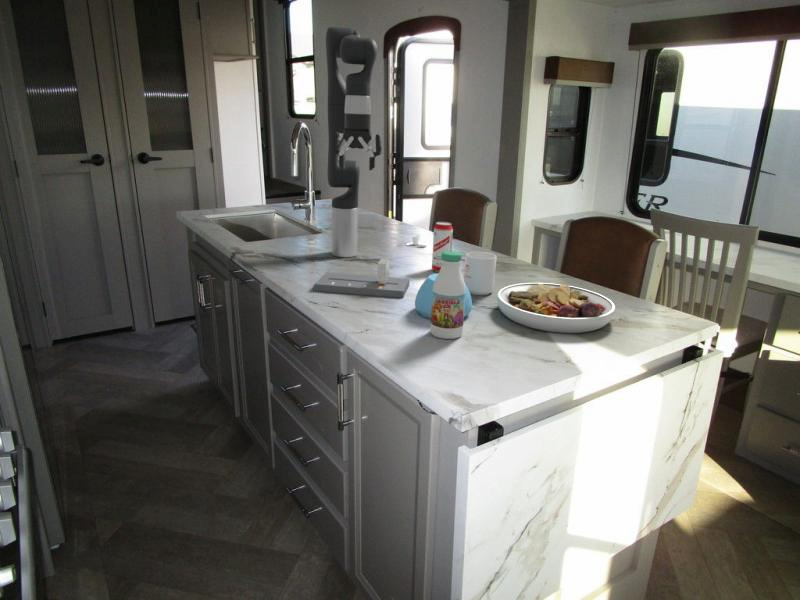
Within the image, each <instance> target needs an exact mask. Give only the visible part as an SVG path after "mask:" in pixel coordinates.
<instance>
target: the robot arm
mask: <svg viewBox="0 0 800 600" xmlns="http://www.w3.org/2000/svg"><path fill="white" fill-rule="evenodd" d="M378 49H379V48H378V45H377V42H376V41H375V40H374V39H373V38H370V37H361V34H360V33H359V31H358V30H357V29H355V28H353V27H337V26H336V27H335V26H329V27H328V28H327V30H326V35H325V51H326V54H325V55H326V67H327V126H328V127H327V129H328V131H327V132H328V149H327V150H328V151H327V183H328V186H329V187H330V188H334V189H335V188H337V189H339V188H347V191H346V192H344V193H343V194H341V195H339V196H335V197H333V198H332V200H331V255H333V256H334V257H339V258H353V257H356V256H357V255H358V242H359V241H358V240H359V239H358V236H359V234H358V233H359V231H358V229H359V224H358V223H359V189H360V188H359V186H360V175H361V174H360V173H361V172H360V166H359V163H358V161H357V160H346V155H345V154H346V153H347V151H348V150H349V149H360V150H362V149H364V150H365V151H366V152H367V153H368V155H369V162H368V164H369V165H368V170H369V171H373V169H375V167H376V158H377V157H378V156H380V155H382V153H383V152H382V134H380V133H378V134H372V132H371V123H372V122H371V121H372V119H371V118H372V116H371V113H372V111H371V110H372V104H371V103H372V102H371V84H372V83H371V82H372V81H371V80H372V74H373V70H374V66H375V63H376V61H377V55H378ZM337 59H341V61H342V63H344V64H348V65H363V69H362V70H361V71H359V72H354V73H353V72H352V73H349V74H347V75H346V77H345V80H344V78H343V75H342V73H341V71H340V68H339V64H338V61H337ZM371 140H373V142H374V143H375V151H374V149H373V148H372V145H370V142H371ZM344 141H345V143H344ZM343 143H344V145H343ZM342 145H343V146H342ZM341 147H342V148H341Z"/></svg>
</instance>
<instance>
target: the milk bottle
mask: <svg viewBox="0 0 800 600" xmlns="http://www.w3.org/2000/svg"><path fill="white" fill-rule="evenodd" d="M462 256H463V254H462V253H461V252H460V251H457V250H452V251H444V252H442V255H441V259H442V260H441V262H442V266H441V269H440V272H438V273H437V274H438V275H437V277H436V279H435V282H434V286H433V295H432V310H431V319H430V326H429V328H430V331H429V332H430V334H431V335H432V336H434V337H435V338H439V339H441V340H442V339H443V340H454V339H458V338H460V337H461V336H462V334H463V332H464V331H463V330H464V322H465V321H464V320H465V319H464V318H465V317H464V307H465V282H464V275H463V274H462V270H461V264H462Z"/></svg>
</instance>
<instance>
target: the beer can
mask: <svg viewBox="0 0 800 600" xmlns="http://www.w3.org/2000/svg"><path fill="white" fill-rule="evenodd" d="M453 233H454V229H453V226H452V223H451V222H448V221H437V222H435V225H434V227H433V237H432V240H433V241H432V242H433V243H432V255H431V257H432V258H431V269H432V270H433V272H436V273H439V272H440V269H441V266H442V262H441V260H442V259H441V255H442V252H444V251H453V250H452V249H453Z"/></svg>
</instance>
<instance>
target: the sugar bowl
mask: <svg viewBox="0 0 800 600" xmlns="http://www.w3.org/2000/svg"><path fill="white" fill-rule="evenodd" d="M438 274H439V273H433V274H430V275H428V276H427V278H426V279H425V280H424V281H423V283H422V284H421V285H420V287H419V289H418V290H417V293H416V296H415V299H414V306H415V309H416V311H417V312H418V313H419V314H420V315H421V316H422V317H425V318H427V319H430V320H431V310H432V295H433V286H434V282H435V279H436V277H437V275H438ZM472 309H473V302H472V294H470V292H469V290H468V288H467V286H466V284H465V307H464V318H465V317H467V315H468V314H470V313H471V311H472Z"/></svg>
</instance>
